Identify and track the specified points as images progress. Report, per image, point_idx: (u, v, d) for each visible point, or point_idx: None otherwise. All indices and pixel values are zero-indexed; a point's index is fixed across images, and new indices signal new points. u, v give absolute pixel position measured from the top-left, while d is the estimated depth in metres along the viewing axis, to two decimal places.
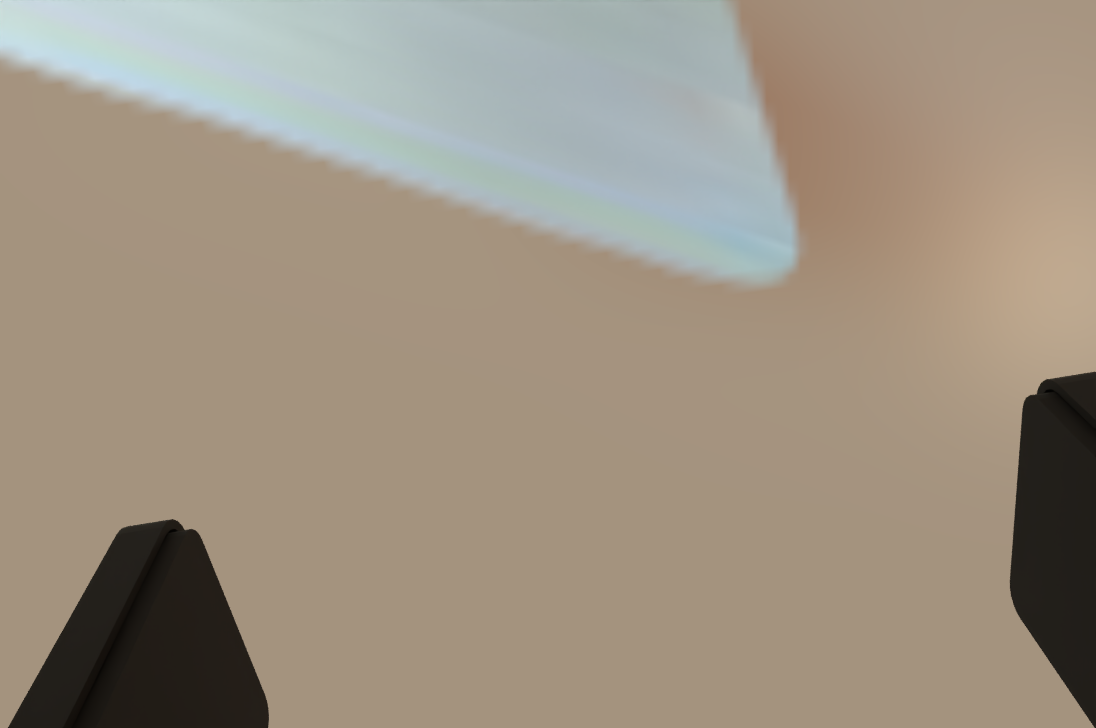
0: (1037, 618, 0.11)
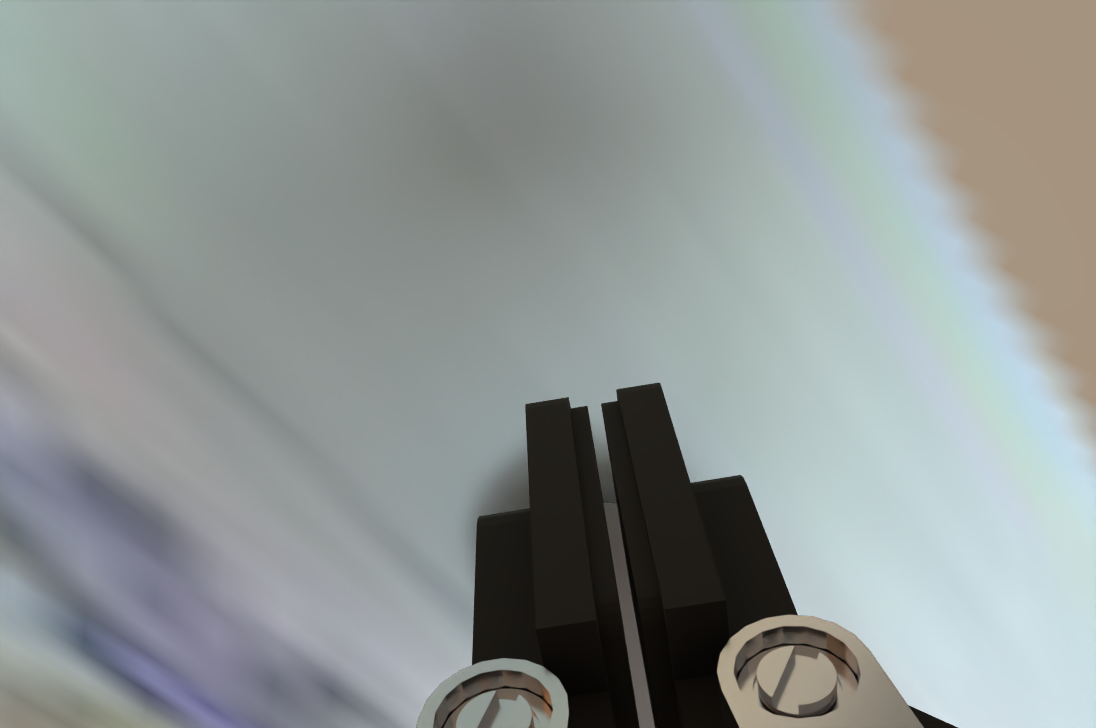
0: (633, 603, 0.12)
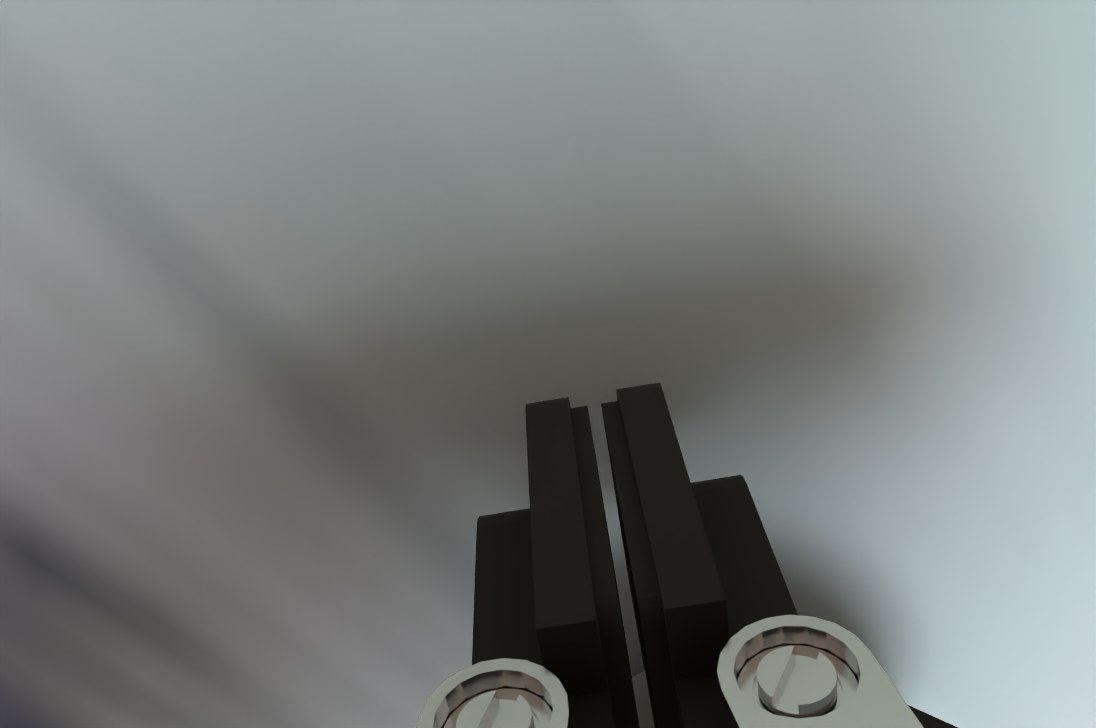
0: None
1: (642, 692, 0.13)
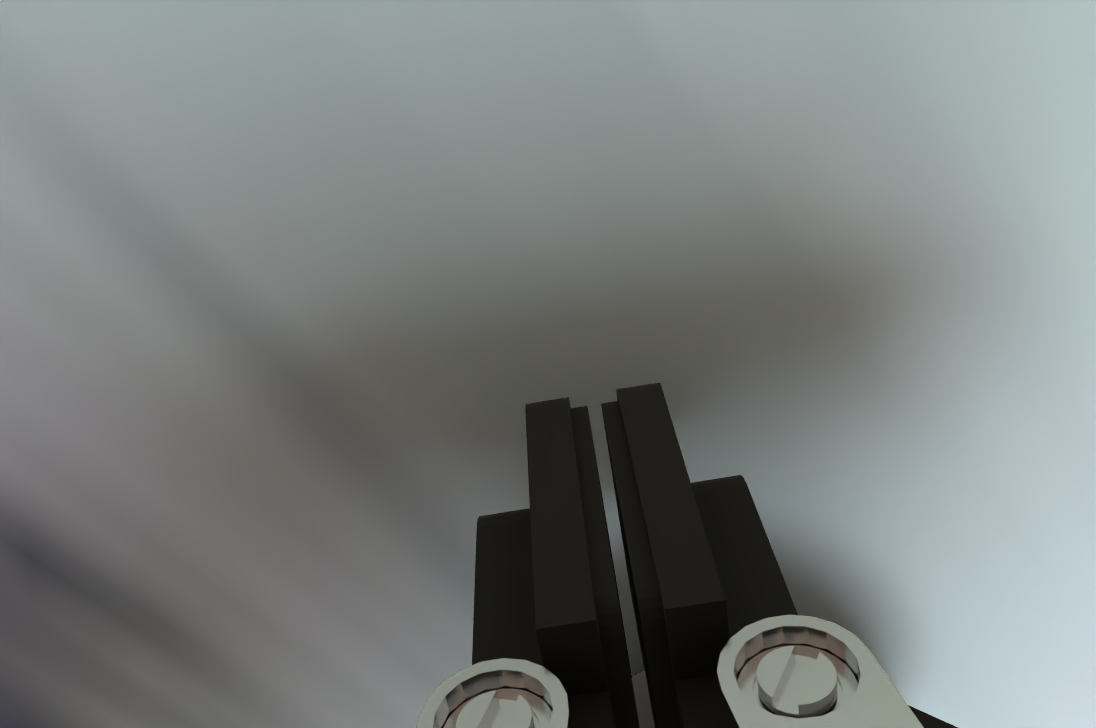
0: (633, 603, 0.12)
1: (641, 692, 0.13)
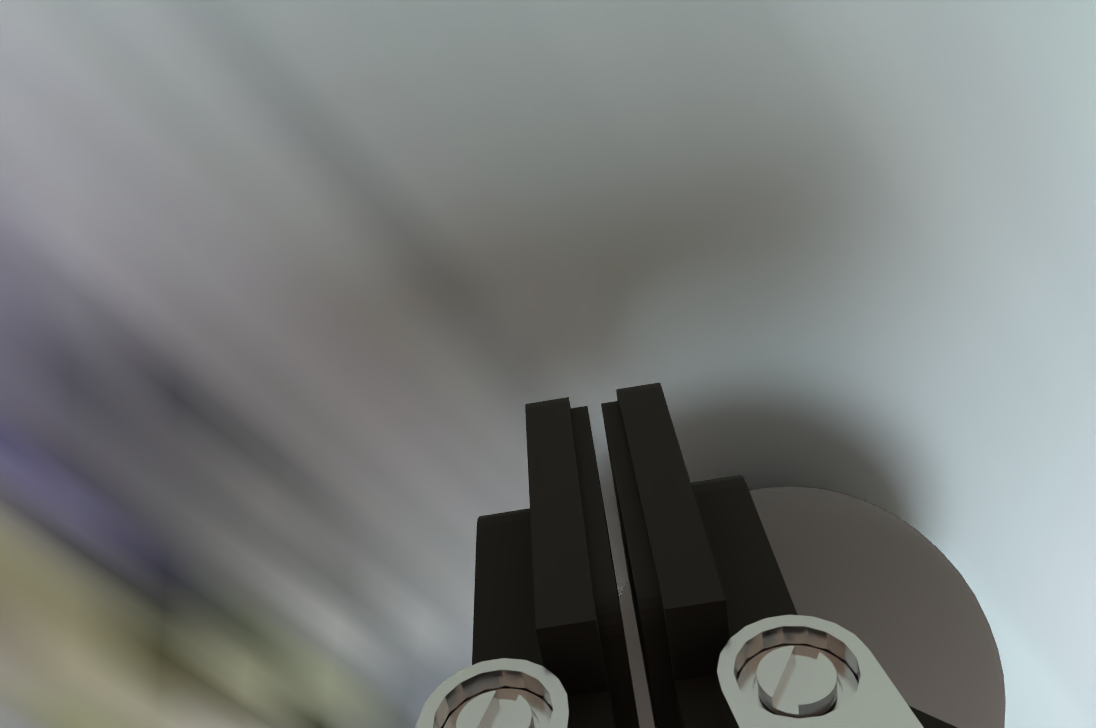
0: None
1: None
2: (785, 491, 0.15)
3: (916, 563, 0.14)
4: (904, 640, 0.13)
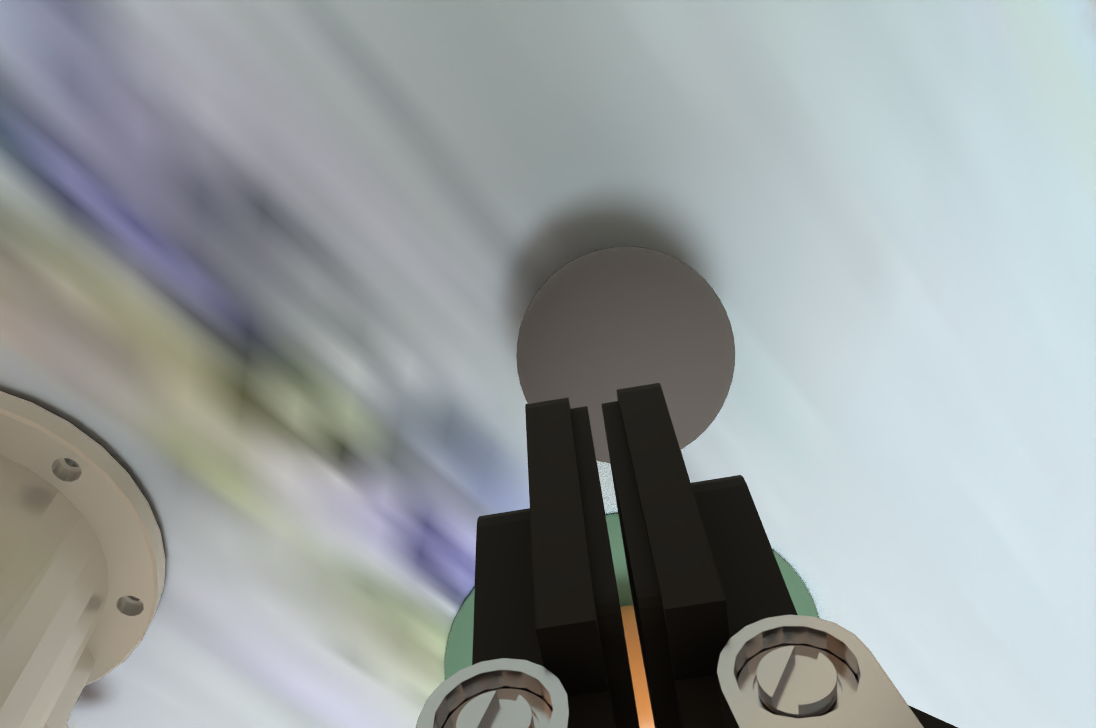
0: None
1: (569, 262, 0.27)
2: None
3: (679, 269, 0.26)
4: (666, 298, 0.25)
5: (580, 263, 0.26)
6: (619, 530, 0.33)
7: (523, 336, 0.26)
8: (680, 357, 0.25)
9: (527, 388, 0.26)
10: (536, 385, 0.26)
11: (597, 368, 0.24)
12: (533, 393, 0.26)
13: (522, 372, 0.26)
